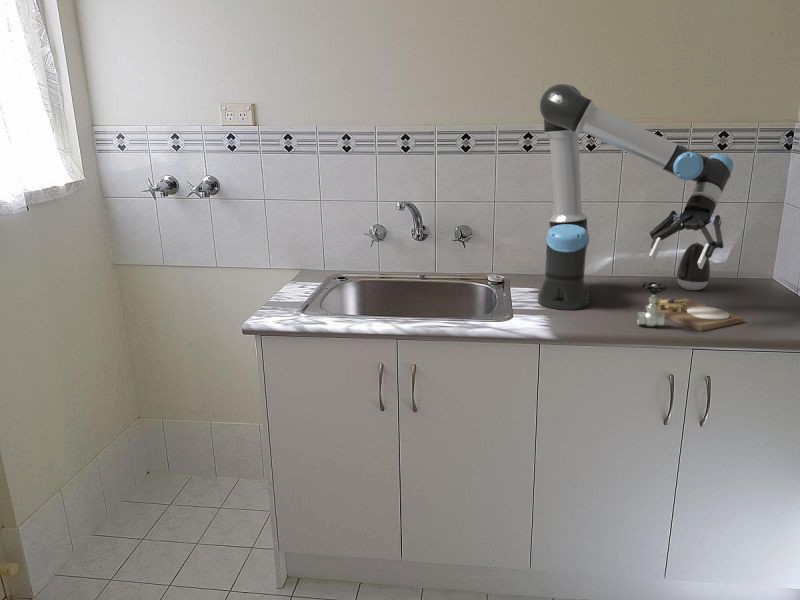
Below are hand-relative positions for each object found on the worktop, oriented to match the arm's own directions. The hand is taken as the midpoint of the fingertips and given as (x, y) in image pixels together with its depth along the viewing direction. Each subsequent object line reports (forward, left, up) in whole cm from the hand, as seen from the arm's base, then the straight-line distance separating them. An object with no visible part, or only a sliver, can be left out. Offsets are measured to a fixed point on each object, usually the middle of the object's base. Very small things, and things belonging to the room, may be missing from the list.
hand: (674, 262), depth 179 cm
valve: (+3, -10, -17) cm, 20 cm away
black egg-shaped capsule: (-19, +30, -17) cm, 39 cm away
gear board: (+2, +7, -16) cm, 18 cm away
